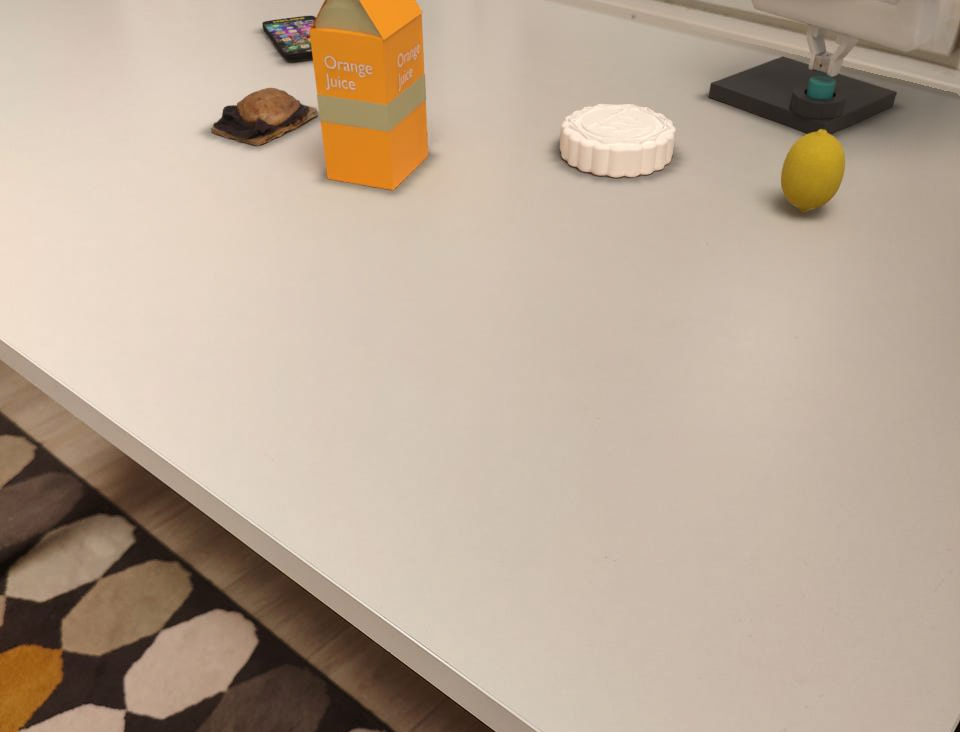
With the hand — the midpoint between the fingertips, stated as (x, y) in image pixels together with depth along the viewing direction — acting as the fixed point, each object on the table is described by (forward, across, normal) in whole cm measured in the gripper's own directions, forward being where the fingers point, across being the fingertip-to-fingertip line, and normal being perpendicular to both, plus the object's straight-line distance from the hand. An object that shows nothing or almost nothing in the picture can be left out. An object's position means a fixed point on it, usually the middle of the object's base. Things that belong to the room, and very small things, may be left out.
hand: (823, 72), depth 103 cm
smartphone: (+6, +62, +28) cm, 68 cm away
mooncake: (+6, +9, +22) cm, 25 cm away
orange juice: (+6, +23, +43) cm, 49 cm away
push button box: (+6, +5, -5) cm, 9 cm away
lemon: (+6, -12, +18) cm, 23 cm away
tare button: (+3, 0, 0) cm, 3 cm away
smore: (+6, +41, +46) cm, 62 cm away
